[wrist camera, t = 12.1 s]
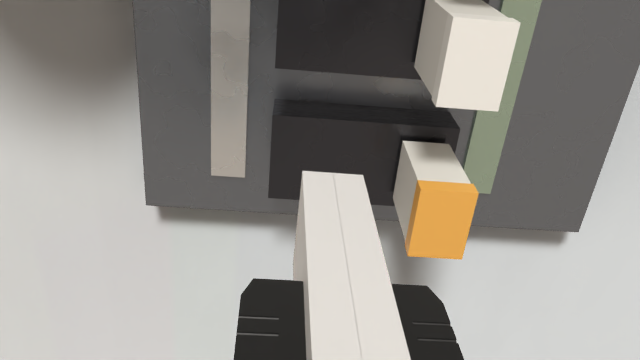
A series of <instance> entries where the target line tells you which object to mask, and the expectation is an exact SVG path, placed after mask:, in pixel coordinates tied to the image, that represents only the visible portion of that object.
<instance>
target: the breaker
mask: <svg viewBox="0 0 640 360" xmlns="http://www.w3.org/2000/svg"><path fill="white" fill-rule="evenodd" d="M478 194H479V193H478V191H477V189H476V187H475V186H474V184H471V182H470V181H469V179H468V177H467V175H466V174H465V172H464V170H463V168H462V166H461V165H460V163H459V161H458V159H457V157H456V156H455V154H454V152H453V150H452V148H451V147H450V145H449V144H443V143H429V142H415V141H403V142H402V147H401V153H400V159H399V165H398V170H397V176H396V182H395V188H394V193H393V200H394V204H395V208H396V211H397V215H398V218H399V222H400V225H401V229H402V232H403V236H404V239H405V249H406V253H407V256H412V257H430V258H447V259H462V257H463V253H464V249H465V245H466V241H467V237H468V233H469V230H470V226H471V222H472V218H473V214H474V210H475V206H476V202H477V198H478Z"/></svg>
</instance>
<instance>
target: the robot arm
mask: <svg viewBox="0 0 640 360" xmlns="http://www.w3.org/2000/svg"><path fill="white" fill-rule="evenodd" d="M234 360H464V358H463V356H462V353H461V350H460V347H459V345H458V343H456V337H455V334H454V331H453V329H452V327H450V320H449V318H448V315H447V312H446V310H445V307H444V304H443V303H442V301H441V300H440V299H439V298H438V297H437V296H436V295H435V294H434V293H433V292H432V291H431V290H430V289H429V287H428V286H419V285H400V284H391V281H390V277H389V273H388V269H387V266H386V262H385V258H384V254H383V250H382V246H381V242H380V239H379V235H378V231H377V227H376V223H375V219H374V215H373V211H372V208H371V204H370V200H369V196H368V192H367V188H366V184H365V180H364V177H363V175H356V174H342V173H328V172H314V171H302V179H301V189H300V199H299V209H298V218H297V228H296V238H295V248H294V258H293V281H291V280H272V279H253V280H252V281H251V282H250V284H249V285H248V286H247V288H246V289H245V290H244V292H243V293H242V294H241V300H240V309H239V319H238V326H237V336H236V344H235V353H234Z"/></svg>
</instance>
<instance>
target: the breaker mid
mask: <svg viewBox="0 0 640 360" xmlns="http://www.w3.org/2000/svg"><path fill="white" fill-rule="evenodd" d="M520 24H521V23H520V22H519V21H517V20H515V19H514V18H508V17H507V16H505V15H504V14H502V13H501V12H499V11H498V10H496V9H495V8H493V7H492V6H490V5H488V4H487V3H485V2H484V1H482V0H426V1H425V7H424V13H423V19H422V24H421V30H420V36H419V42H418V48H417V53H416V59H415V65H414V67H415V69H416V71H417V72H418V74H419V76H420V77H421V79H422V81H423V82H424V84H425V86H426V87H427V89H428V91H429V92H430V94H431V96H432V99H431V100H432V101H433V103H434V105H435V106H436V107H444V108H457V109H470V110H484V111H497V112H498V110H499V106H500V102H501V98H502V94H503V90H504V87H505V83H506V79H507V75H508V71H509V67H510V63H511V59H512V55H513V51H514V47H515V43H516V39H517V35H518V31H519V28H520Z"/></svg>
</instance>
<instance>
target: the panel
mask: <svg viewBox="0 0 640 360" xmlns="http://www.w3.org/2000/svg"><path fill="white" fill-rule="evenodd" d="M425 1H426V0H133V13H134V28H135V43H136V59H137V74H138V89H139V104H140V120H141V135H142V150H143V165H144V181H145V196H146V205H151V206H167V207H183V208H199V209H216V210H232V211H248V212H264V213H280V214H296V215H298V209H299V199H300V189H301V179H302V171H314V172H328V173H342V174H356V175H363V177H364V180H365V184H366V188H367V192H368V196H369V200H370V204H371V208H372V211H373V215H374V219H376V220H392V221H399V218H398V215H397V211H396V208H395V204H394V200H393V193H394V188H395V182H396V176H397V170H398V165H399V159H400V153H401V147H402V142H403V141H415V142H429V143H443V144H449V145H450V147H451V148H452V150H453V152H454V154H455V156H456V157H457V159H458V161H459V163H460V165H461V166H462V168H463V170H464V172H465V174H466V175H467V177H468V179H469V181H470V182H471V184H474V186H475V187H476V189H477V191H478V193H479V194H478V198H477V202H476V206H475V210H474V214H473V218H472V222H471V225H472V226H488V227H504V228H521V229H537V230H553V231H569V232H579V229H580V226H581V223H582V221H583V218H584V215H585V213H586V210H587V207H588V204H589V202H590V199H591V196H592V193H593V191H594V188H595V185H596V182H597V180H598V177H599V174H600V171H601V169H602V166H603V163H604V160H605V158H606V155H607V152H608V150H609V147H610V144H611V141H612V139H613V136H614V133H615V130H616V128H617V125H618V122H619V119H620V117H621V114H622V111H623V108H624V106H625V103H626V100H627V98H628V95H629V92H630V89H631V87H632V84H633V81H634V78H635V76H636V73H637V70H638V67H639V65H640V0H482V1H484V2H485V3H487V4H488V5H490V6H492V7H493V8H495V9H496V10H498V11H499V12H501V13H502V14H504V15H505V16H507V17H508V18H514V19H515V20H517V21H519V22H520V23H521V24H520V28H519V31H518V35H517V39H516V43H515V47H514V51H513V55H512V59H511V63H510V67H509V71H508V75H507V79H506V83H505V87H504V90H503V94H502V98H501V102H500V106H499V110H498V112H497V111H484V110H470V109H457V108H444V107H436V106H435V105H434V103H433V101H432V100H431V99H432V96H431V94H430V92H429V91H428V89H427V87H426V86H425V84H424V82H423V81H422V79H421V77H420V76H419V74H418V72H417V71H416V69H415V67H414V65H415V59H416V53H417V48H418V42H419V36H420V30H421V24H422V19H423V13H424V7H425Z"/></svg>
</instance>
